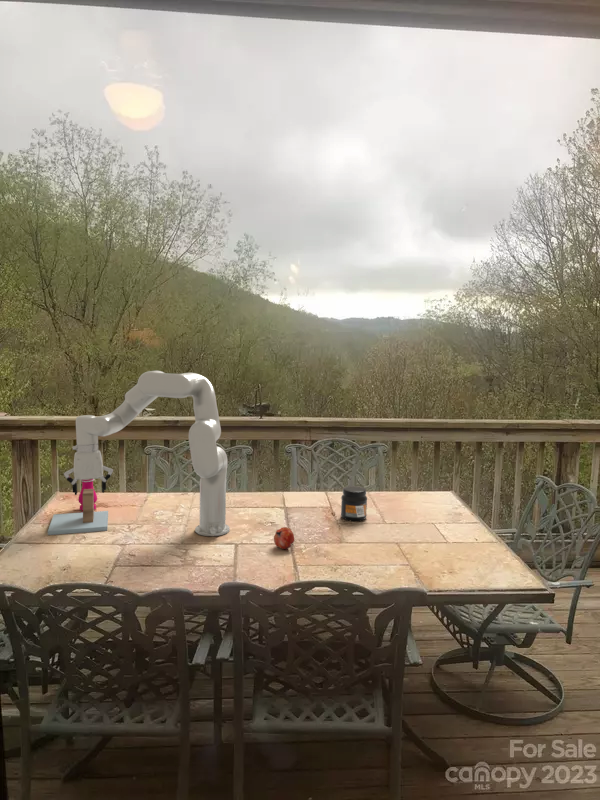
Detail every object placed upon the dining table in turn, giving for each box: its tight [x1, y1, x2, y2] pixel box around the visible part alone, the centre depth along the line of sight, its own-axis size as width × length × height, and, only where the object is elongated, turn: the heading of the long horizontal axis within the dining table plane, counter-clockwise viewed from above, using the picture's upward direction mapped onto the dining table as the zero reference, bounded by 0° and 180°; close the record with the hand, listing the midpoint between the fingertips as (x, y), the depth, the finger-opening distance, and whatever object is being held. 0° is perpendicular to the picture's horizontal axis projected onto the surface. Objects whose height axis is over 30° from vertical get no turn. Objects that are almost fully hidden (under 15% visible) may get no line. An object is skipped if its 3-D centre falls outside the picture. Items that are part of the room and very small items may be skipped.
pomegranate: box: [273, 526, 295, 550], centre depth 188 cm, size 7×7×10 cm
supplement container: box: [340, 485, 368, 522], centre depth 223 cm, size 10×10×12 cm
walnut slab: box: [82, 488, 95, 523], centre depth 208 cm, size 7×4×11 cm, turn 18°
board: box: [47, 510, 109, 536], centre depth 207 cm, size 20×20×2 cm
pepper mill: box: [77, 479, 98, 511], centre depth 225 cm, size 7×7×20 cm
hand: (89, 493), depth 207 cm, fingers open, 9 cm apart
